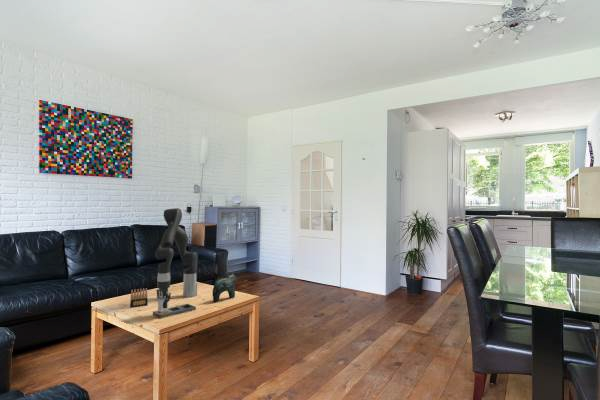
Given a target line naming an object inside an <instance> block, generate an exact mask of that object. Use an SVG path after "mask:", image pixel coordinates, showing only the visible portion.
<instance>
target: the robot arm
mask: <svg viewBox="0 0 600 400" xmlns="http://www.w3.org/2000/svg"><path fill="white" fill-rule="evenodd" d="M163 218H164V221H165V223H166V224H167V227H168V228H166V230H165V231H164V232H163V235H162V238H161V241H160V243H159V245H158V247H157V249H156V250H155V253H154V255H155V258H156V259H157V260H165V262H161V263H158V265H157V277H156V278H157V283H156V284H157V285H156V287H157V289H156V296H157V297H156V298H157V300H158V299H161V298H162V299H163V308H164V309H165V308H167V302H168V303H169V302H170V300H171V295H172V293H171V292H169V288H170V287H171V265H172V260H173V257H174V254H175V251H174V249H173V248H172V247H173V244H174V243H175V245H176V247H177V249H178V252H179V255H180V260H181V262H182V263H183V264H186V265H190V266H189V267H188V268H187V267H186V268H184V269H183V284H182V285H183V289H182V290H183V293H182V296H183V297H184V298H191V297H196V296H197V295H198V282H197V271H198V270H197V269H198V259H199V256H198V253H197V252H196V251H195V252H194V251H188V250H187V245H188V243H189V236H188V234H187V232H186V230H185V229H184V228H182V227H181V226H180V223H181V221H182V218H183V213H182V210H181V209H180V207H179V208H177V207H176V208H175V207H174V208H169V209H167V208H166V209H164V211H163Z"/></svg>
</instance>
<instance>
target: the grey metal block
mask: <svg viewBox="0 0 600 400" xmlns="http://www.w3.org/2000/svg"><path fill="white" fill-rule="evenodd" d="M168 308H169V301H168V302H167V308H165V309H164V308H163V299H162V298H161V299H157V311H158V313H166V312H168Z"/></svg>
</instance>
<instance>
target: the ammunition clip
mask: <svg viewBox="0 0 600 400" xmlns="http://www.w3.org/2000/svg"><path fill="white" fill-rule="evenodd" d="M130 292H131V293H130V303H129V307H130V308H133V309H134V308H140V307H146V306H147V307H148V306H149V305H148V304H149V303H148V288H147V287H146V288H143V289H142V288H140V289H139V288H137V289H136V288H134V290H133V289H131V291H130Z"/></svg>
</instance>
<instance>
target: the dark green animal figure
mask: <svg viewBox="0 0 600 400" xmlns="http://www.w3.org/2000/svg"><path fill="white" fill-rule="evenodd" d="M227 273H228V274H227ZM224 274H225V275H226V276H227V277H222V278H221V277H219V278H217V279H216V280H215V283H214V285H213V288H212V301H213V303H219V302H220V296H221V295H222V293H224V292H227V293H228V298H229V297H230V298H229V299H231V298H232V299H234V298H233V297H235V296H236V283H237V276H236V275H235V274H234V273H231V274H230V272H228V271H226V272H225V273H224ZM235 298H236V297H235ZM218 301H219V302H218Z"/></svg>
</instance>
